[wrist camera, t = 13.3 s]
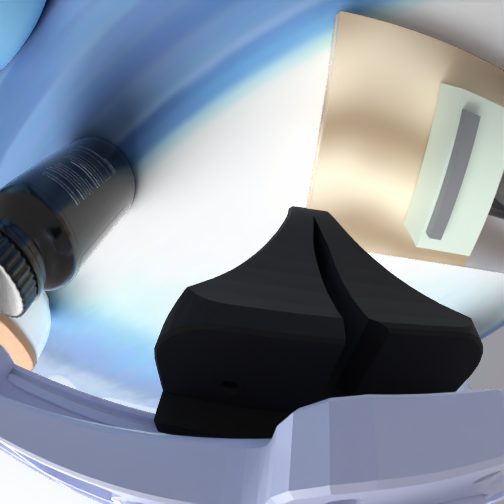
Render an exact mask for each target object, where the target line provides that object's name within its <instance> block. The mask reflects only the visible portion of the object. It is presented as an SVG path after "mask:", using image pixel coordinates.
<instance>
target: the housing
mask: <svg viewBox="0 0 504 504" xmlns="http://www.w3.org/2000/svg"><path fill="white" fill-rule="evenodd" d="M441 83H443V84H447V85H451V86H454V87H458V88H462V89H464V90H467V91H469V92H471V93H474V94H476V95H478V96H481V97H483V98H485V99H487V100H489V101H491V102H493V103H495V104H498V105H500V106H502V107H504V70H502V69H500V68H498V67H496V66H495V65H493V64H491V63H489V62H487V61H485V60H483V59H481V58H479V57H477V56H475V55H473V54H470V53H468V52H466V51H464V50H462V49H459V48H457V47H455V46H452V45H450V44H448V43H445V42H443V41H440V40H438V39H435V38H433V37H430V36H427V35H425V34H422V33H419V32H416V31H413V30H410V29H407V28H404V27H401V26H398V25H394V24H391V23H388V22H384V21H381V20H377V19H373V18H369V17H365V16H361V15H357V14H353V13H348V12H343V11H340V12H339V13H338V14H337V15H336V16H335V21H334V30H333V38H332V46H331V54H330V62H329V69H328V77H327V84H326V91H325V98H324V104H323V111H322V118H321V124H320V130H319V137H318V143H317V149H316V155H315V161H314V166H313V172H312V178H311V184H310V189H309V195H308V200H307V206H306V208H308V209H315V210H322V211H328V212H329V213H330V214H331V215H332V216H333V217H334V218H335V219H336V221H337V222H338V223H339V224H340V225H341V226H342V227H343V228H344V230H345V231H346V232H347V233H348V234H349V235H350V236H351V237H352V238H353V239H354V240H355V241H356V242H357V243H358V244H359V245H360V246H361V247H362V248H363V249H364V250H365V251H366V252H369V253H376V254H383V255H390V256H396V257H403V258H410V259H416V260H423V261H429V262H436V263H442V264H449V265H455V266H461V267H468V268H474V269H480V270H486V271H492V272H499V273H504V210H501V209H498V208H495V207H492V205H491V207H490V210H489V212H488V215H487V217H486V220H485V222H484V225H483V227H482V229H481V232H480V234H479V236H478V239H477V241H476V243H475V245H474V247H473V250H472V252H471V254H470V256H466V255H460V254H454V253H449V252H443V251H437V250H431V249H426V248H420V247H416V245H415V243H414V241H413V240H412V238H411V236H410V234H409V232H408V231H407V229H406V227H405V225H404V221H405V218H406V216H407V212H408V209H409V206H410V203H411V200H412V197H413V194H414V191H415V187H416V184H417V181H418V177H419V174H420V170H421V167H422V163H423V159H424V156H425V152H426V148H427V144H428V140H429V136H430V132H431V128H432V123H433V119H434V114H435V110H436V105H437V100H438V95H439V89H440V84H441ZM503 171H504V170H503ZM502 174H503V173H502ZM501 178H502V176H501ZM500 181H501V179H500ZM499 183H500V182H499ZM498 186H499V185H498ZM497 189H498V188H497ZM496 192H497V191H496ZM495 195H496V194H495ZM494 198H495V197H494ZM493 200H494V199H493ZM492 203H493V202H492Z"/></svg>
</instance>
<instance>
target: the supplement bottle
mask: <svg viewBox="0 0 504 504" xmlns="http://www.w3.org/2000/svg"><path fill="white" fill-rule="evenodd" d="M134 192H135V181H134V176H133V172H132V169H131V167H130V164H129V162H128V161H127V159H126V157H125V156H124V155H123V153H122V152H121V151H120V150H119V149H118V148H117V147H115V146H114V145H113V144H111V143H110V142H108V141H105V140H103V139H100V138H95V137H87V138H82V139H79V140H76V141H74V142H72V143H71V144H69V145H67V146H65V147H63V148H62V149H60V150H58V151H57V152H55V153H53V154H52V155H50V156H48V157H47V158H45V159H44V160H42V161H40V162H39V163H37V164H36V165H34V166H33V167H31V168H30V169H28V170H27V171H25V172H24V173H22V174H21V175H19V176H18V177H16V178H15V179H13V180H12V181H11V182H9V183H8V184H6V185H5V186H4V187H3V188H1V189H0V313H2V314H4V315H6V316H8V317H12V318H14V317H15V318H18V317H21V316H22V315H23V314H24V313H25V312H26V311H27V310H28V308H29V307H30V306H31V304H32V303H33V302H34V301H36V300H37V299H38V297H39V296H40V294H41V293H42V291H52V290H57V289H60V288H62V287H64V286H66V285H67V284H68V283H69V282H70V281H71V280H72V279H73V278H74V277H75V276H76V274H77V273H78V272H79V270H80V269H81V268H82V266H83V265H84V264H85V262H86V261H87V260H88V259H89V257H90V256H91V255H92V254H93V252H94V251H95V250H96V248H97V247H98V246H99V245H100V244H101V242H102V241H103V240H104V239H105V237H106V236H107V235H108V234H109V233H110V231H111V230H112V229H113V228H114V227H115V225H116V224H117V223H118V222H119V221H120V219H121V218H122V217H123V216H124V214H125V213H126V212H127V211H128V209H129V208H130V206H131V204H132V201H133V198H134Z"/></svg>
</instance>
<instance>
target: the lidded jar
mask: <svg viewBox="0 0 504 504" xmlns="http://www.w3.org/2000/svg"><path fill="white" fill-rule="evenodd" d="M50 327H51V315H50V309H49V298H48V296H47V293H46V292H45V291H42V293H41V294H40V296H39V297H38V299H37V300H36V301H34V302H33V303H32V304H31V306H30V307H29V308H28V310H27V311H26V312H25V313H24V314H23V315H22V316H21V317H18V318H15V317H14V318H12V317H8V316H6V315H4V314H2V313H0V344H1V345H2V346H3V347H4V348H5V349H6V350H7V352H8V353H9V354H10V356H11V358H12V359H13V361H14V364H16V365H18V366H20V367H22V368H25V369H27V370H29V371H32V370H33V368H34V367H35V365H36V363H37V359H38V358H39V356H40V354H41V352H42V350H43V349H44V347H45V344H46V342H47V339H48V336H49V333H50Z"/></svg>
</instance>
